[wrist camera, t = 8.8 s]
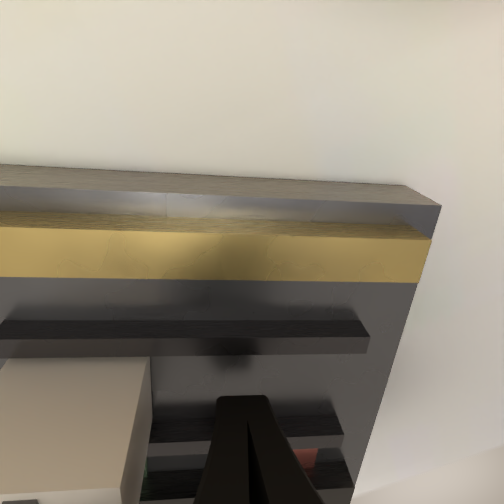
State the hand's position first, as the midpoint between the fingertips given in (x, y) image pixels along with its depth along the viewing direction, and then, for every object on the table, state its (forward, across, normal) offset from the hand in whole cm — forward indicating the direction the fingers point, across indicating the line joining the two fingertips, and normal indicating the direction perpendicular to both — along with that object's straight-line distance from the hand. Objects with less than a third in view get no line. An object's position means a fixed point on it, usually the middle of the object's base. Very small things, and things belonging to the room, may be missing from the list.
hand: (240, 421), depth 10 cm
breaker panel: (+3, +1, 0) cm, 4 cm away
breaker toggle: (+1, +4, 0) cm, 5 cm away
